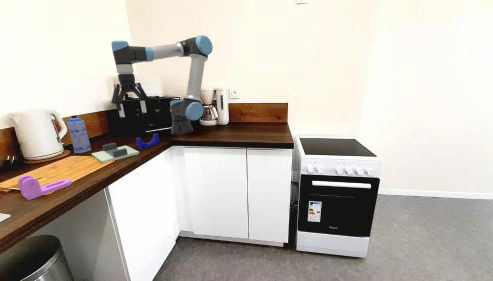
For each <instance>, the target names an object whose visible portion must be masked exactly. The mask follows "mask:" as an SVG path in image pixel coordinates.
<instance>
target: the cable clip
mask: <svg viewBox="0 0 493 281" xmlns="http://www.w3.org/2000/svg"><path fill="white" fill-rule="evenodd" d="M135 142H136V148H137V149H139V150H140V149H141V150H143V149H146V148H151V147H152V146H155V145H159V144H160V135H159V133H153V135H152V139H151V140H150V141H149V142H146V143H145V142H143V140H142V138H141V137H135Z"/></svg>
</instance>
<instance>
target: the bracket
mask: <svg viewBox="0 0 493 281" xmlns="http://www.w3.org/2000/svg"><path fill="white" fill-rule="evenodd" d="M72 183H73V182H72V179H71V178H65V179H59V180H56V181H53V182H50V183H47V184H45V185H40V182H39V180H38V179H37V178H34V177H33V176H31V175H27V174H26V175H23V176H20V177H19V178H18V180H17V184H18V186H19V189H20V192H21V196H22V197H24V198H25V199H26V200H27V201H31V200H33V199H36V198H38V197H42V196H44V195H47V194H50V193H52V192H55V191H57V190H60V189H63V188H66V187H68V186H71V185H72ZM54 185H55V186H54ZM51 186H52V187H51Z"/></svg>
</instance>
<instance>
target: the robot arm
mask: <svg viewBox="0 0 493 281" xmlns="http://www.w3.org/2000/svg"><path fill="white" fill-rule="evenodd" d="M110 43H111V50H112V54H113V55H112V56H113V59H114V63H115V69H116V72H117V77H118V82H119V83H115V84H114V85H113V87H114V88H113V94H112V97H111V98H112V99H111V104H114V105H116V110H117V112H119V113H118V114H119V117H120V118H126V115H125V111H124V106H123V103H122V102H123V99H124V97H125V95H126V94H127V93H133V94H134V95H135V96H136V97H137V98H138V99H139V100H140V102H139V103H140V107H141V112H142V113H145V114H146V113H147V102H146V101H147V100H148V99H149V97H148V95H147V93H146V92H145V90H144V88H143V86H142V83H141V82H135V81H136V78H135V74H134V67H133V65H134V64H138V63H145V62H147V63H149V62H153V61H156V60H162V59H167V58H168V59H170V58H174V57H178V58H185V57H190V67H189V72H188V81H187V87H186V88H187V89H186V95H185V96H184V97H183V99H182V98H181V99H176V100H171V101H170V103H169V105H170V113H171V119H172V120H171V122H172V125H171V129H170V130H171V131H170V132H171V135H175V136H176V135H188V134H191V133H193V132H194V128H193V126H192V124H191V121H196V120H199V119H200V118H202V116H203V114H204V106H203V104H202V100H201V97H200V96H201V90H202V83H203V76H204V69H205V63H206V62H207V61H208V59H209V58H208V57H209V55H210V54H211V53H212V52H213V49H214V46H213V43H212V41H211V39H210V38H209V37H208V36H206V35H204V34H203V35H202V34H201V35H197V36H195V37H189V38H187V39H184V40H181V41H176V42H175V43H171V44H163V45H155V46H154V45H153V46H137V45H135V46H133V45H129V42H128V41H126V40H112V41H111V42H110Z"/></svg>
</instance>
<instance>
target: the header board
mask: <svg viewBox="0 0 493 281" xmlns="http://www.w3.org/2000/svg"><path fill="white" fill-rule="evenodd" d="M136 155H140V151H138V150H136V149H135V148H132V147H130V146H128V145H122V146H118V147H117V143H116V142H111V143H106V144H104V145H102V150H100V151H97V152H91V156H92V157H93V156H94V157H96V158H97V159H98V160H99V161H100V162H99V161H98V160H97V159H96V158H95V159H96V160H97V161H98V162H99V163H101V162H106V161H110V160H114V161H118V160H122V159H126V158H128V157H132V156H136ZM94 157H93V158H94ZM110 162H111V161H110Z"/></svg>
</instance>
